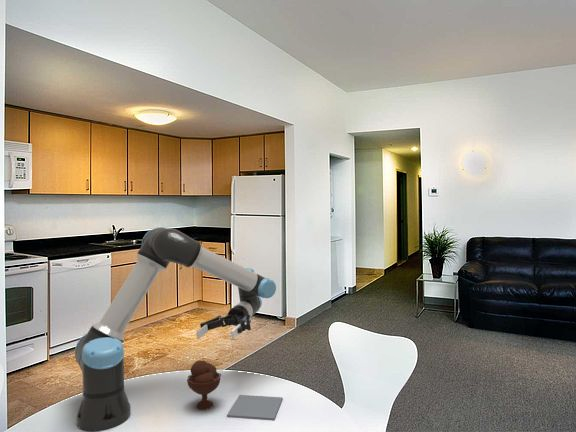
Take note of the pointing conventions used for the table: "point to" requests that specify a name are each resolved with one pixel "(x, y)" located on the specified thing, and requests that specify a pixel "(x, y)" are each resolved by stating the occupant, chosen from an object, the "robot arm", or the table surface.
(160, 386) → the table surface
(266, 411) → the slate mat
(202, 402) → the ice cream bowl
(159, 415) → the table surface
